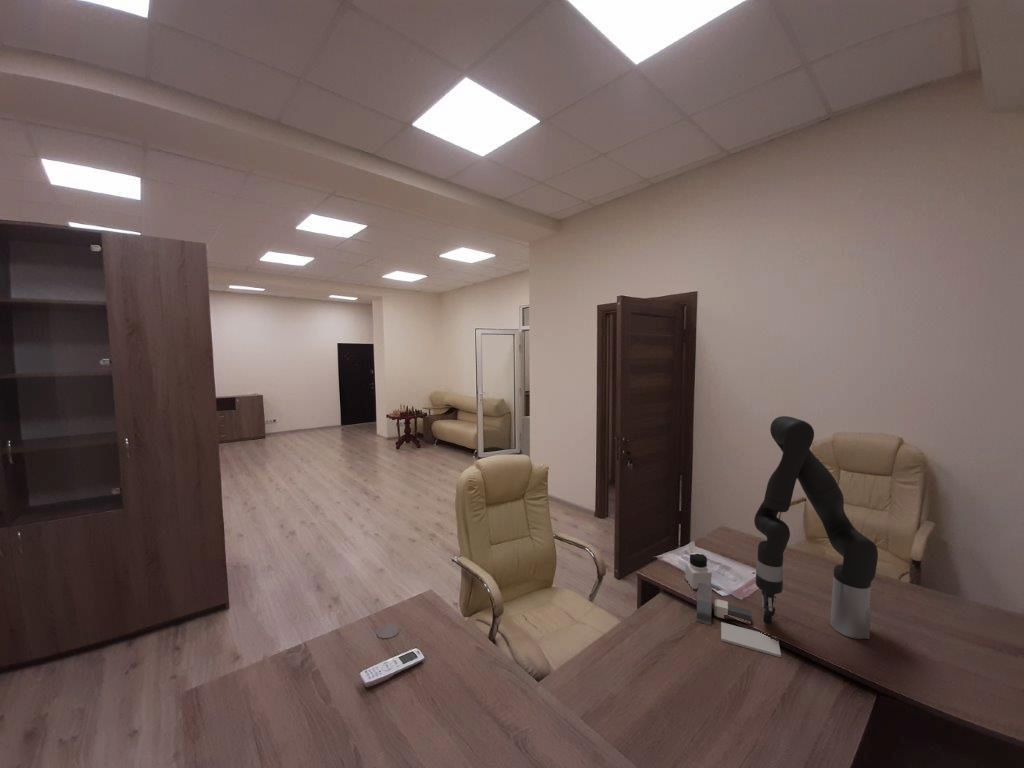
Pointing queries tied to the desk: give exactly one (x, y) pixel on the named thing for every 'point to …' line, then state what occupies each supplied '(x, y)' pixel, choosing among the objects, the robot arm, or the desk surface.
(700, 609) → the shaft block
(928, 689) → the desk surface
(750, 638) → the mat
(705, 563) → the medicine bottle
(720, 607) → the plug bar
